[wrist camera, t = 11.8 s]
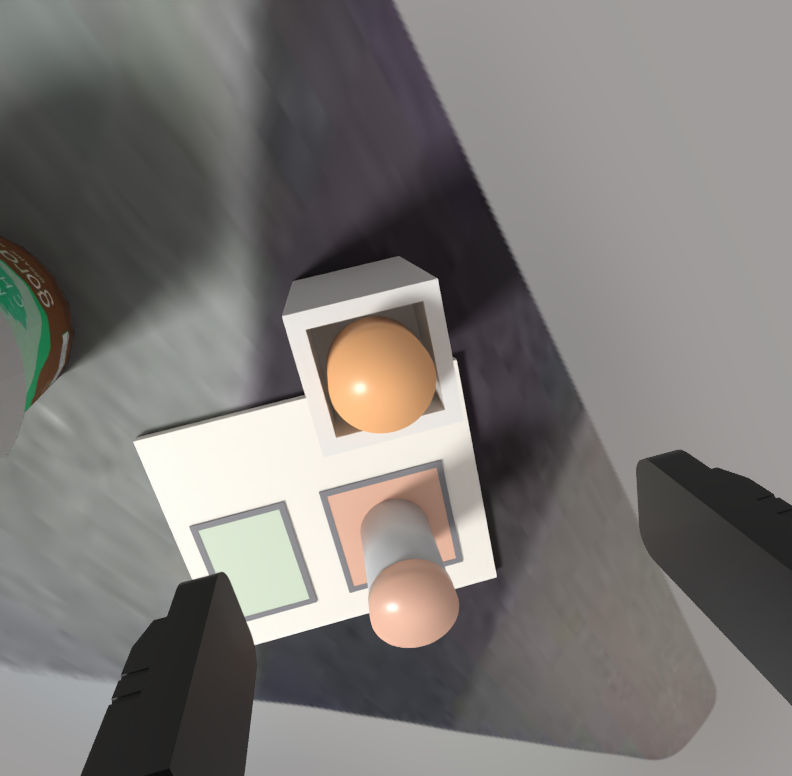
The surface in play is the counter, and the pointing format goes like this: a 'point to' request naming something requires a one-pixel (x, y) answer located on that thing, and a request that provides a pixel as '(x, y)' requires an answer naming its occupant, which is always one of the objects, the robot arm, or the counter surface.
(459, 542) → the picture board
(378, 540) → the peach-capped grey cylinder
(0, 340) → the food container
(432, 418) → the white open box
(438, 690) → the counter surface
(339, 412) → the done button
